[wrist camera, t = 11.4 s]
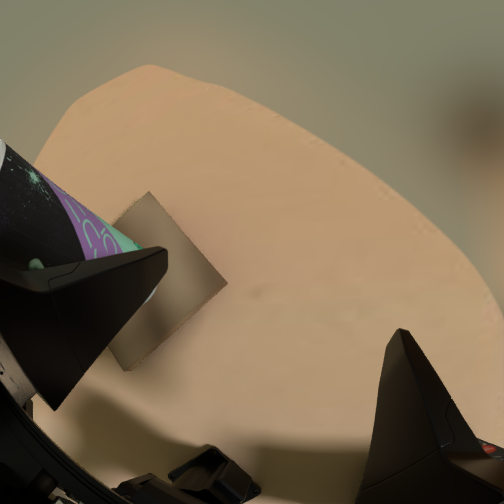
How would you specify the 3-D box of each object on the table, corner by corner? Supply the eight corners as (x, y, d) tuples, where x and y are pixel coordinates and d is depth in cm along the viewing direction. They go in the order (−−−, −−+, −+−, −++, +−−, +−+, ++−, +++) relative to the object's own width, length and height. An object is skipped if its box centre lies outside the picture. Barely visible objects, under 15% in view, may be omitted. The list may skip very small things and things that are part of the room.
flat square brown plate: (138, 369, 23) (123, 371, 20) (83, 277, 26) (69, 271, 24) (231, 286, 24) (224, 280, 22) (159, 202, 28) (148, 191, 25)
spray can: (145, 318, 21) (-98, 234, 3) (101, 295, 23) (-95, 208, 4) (168, 258, 23) (-30, 91, 4) (122, 241, 24) (-47, 109, 5)
